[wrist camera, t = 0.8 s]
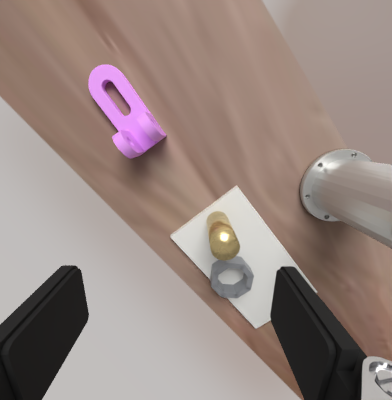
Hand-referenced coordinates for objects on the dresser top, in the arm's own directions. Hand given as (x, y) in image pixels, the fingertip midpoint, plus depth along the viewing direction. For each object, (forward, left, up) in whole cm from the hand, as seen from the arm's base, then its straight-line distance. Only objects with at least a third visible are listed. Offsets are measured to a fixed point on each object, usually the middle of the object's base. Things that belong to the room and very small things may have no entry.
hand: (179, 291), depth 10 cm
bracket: (+6, -14, -27) cm, 31 cm away
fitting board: (-6, +19, -26) cm, 33 cm away
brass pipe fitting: (-3, +8, -25) cm, 27 cm away
